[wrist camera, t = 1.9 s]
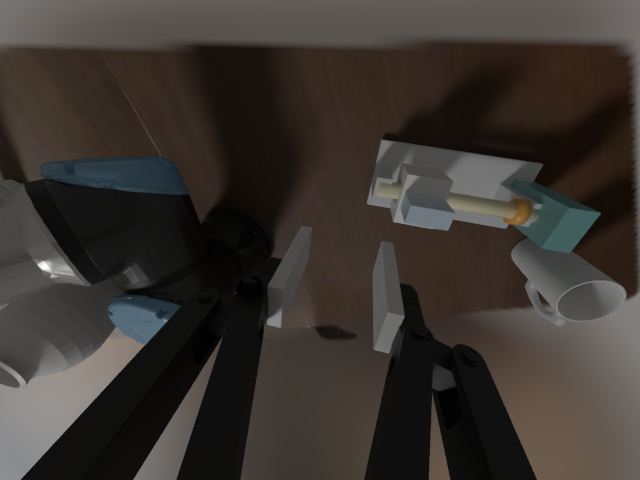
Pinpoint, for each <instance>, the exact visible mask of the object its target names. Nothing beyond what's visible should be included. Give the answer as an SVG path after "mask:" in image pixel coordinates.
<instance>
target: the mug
mask: <svg viewBox="0 0 640 480" xmlns="http://www.w3.org/2000/svg"><path fill="white" fill-rule="evenodd" d="M511 257H512V260H513V261H514V263H515V264H516V265H517V266H518V268H519V269H520V270H521V271H522V272H523V273H524V275H525V276H526V277H527V278H528V281H527V283H526V284H525V289H526V291H527V293H528V295H529V298H530V300H531V302H532V304H533V306H534V307H535V309H536V310H537V312H538V313H539V314H540V315H542V316H543V317H544V318H546V319H548V320H550V321H552V322H553V323H555V324H556V325H557V326H563V325H564V323H565V321H566V319H567V320H570V321H575V322H588V321H594V320H598V319H601V318H604V317H606V316H608V315H611V314H612V313H614V312H616V311H617V310H618V309H619V308H620V307H621V306H622V305H623V304H624V302H625V300H626V291H625V289H624V288H623V287H622V286H621V285H620V284H618V283H616V282H615V281H614V280H612V279H611V278H610V277H608V276H607V275H605V274H604V273H602V272H601V271H599V270H598V269H597V268H595V267H594V266H592V265H591V264H589V263H588V262H586V261H585V260H583V259H582V258H580V257H579V256H578V255H576V254H575V253H573V252H572V251H571V252H570V254H569V253H564V252H558V251H553V250H547V249H542V248H540V247H539V246H538V245H536V244H535V243H534V242H533V241H532V240H530V239H529V238H528V237H527V238H525V239H523V240H521V241H520V242H518V243H517V244H516V245H515V247H514V248H513V250H512V253H511ZM538 291H539V292H540V293H541V294H542V296H543V297H544V298H545V299H546V300H547V301H548V303H549V304H550V305H551V306H552V307H553V308H554V309H555V310H554V312H552V313H551V312H549V311H547V310H546V309H545V308H544V307H543V305H542V304H541V302H540V300H539V297H538Z"/></svg>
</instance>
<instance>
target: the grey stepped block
mask: <svg viewBox="0 0 640 480" xmlns="http://www.w3.org/2000/svg"><path fill="white" fill-rule="evenodd" d="M396 183H399V184H402V186H401V189H400V193H399V196H398V199H391V202H390V208H391V213H392V219H393V222H397V223H402V224H408V225H413V226H419V227H424V228H430V229H434V228H435V229H440V230H446V231H448V229H449V227H450V225H451V223H452V220H453V218H454V216H455V214H456V213H455V212H454V210H453V209H452V208H451V207H450V205H449V204H448V203H447V202H446V199H447V197H448V194H449V192H450V189H451V187H452V184H453V181H452V180H451V179H450V178H449V177H448V176H447V175H446V174H445V173H444V172H443V171H441V170H440V169H436V168H430V167H423V166H417V165H411V164H405V163H402V164H401V167H400V171H399V174H398V178H397V181H396Z"/></svg>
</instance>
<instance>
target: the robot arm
mask: <svg viewBox="0 0 640 480" xmlns="http://www.w3.org/2000/svg"><path fill="white" fill-rule="evenodd" d="M40 169H41V171H40V174H41V176H42V177H45V178H46V179H42V180H37V181H32V182H26V183H21V184H19V185H18V187H17V189H16V190H15V192H14V193H13V195H12V197H11V198H10V200H9V201H8V202H7V203H5V204H4V205H2V206H0V306H3V305H5V304H7V303H10V302H13V301H16V300H18V299H21V298H23V297H26V296H28V295H31V294H33V293H36V292H39V291H41V290H44V289H46V288H49V287H51V286H54V285H56V284H59V283H71V284H77V285H83V286H89V287H90V286H93V285H95V284H97V283H100V282H102V281H104V280H107V279H109V278H112V279H113V280H114V282H115V283H116V285H117V286H118V288H119V289H120V291H121V295H119V296H117V297H115V298H114V299H113V301H112V303H111V304H110V305H109V308H108V315H109V317H110V319H111V321H112V322H113V323H114V325H115V326H117V327H118V328H119V329H120V330H121V331H122V332H123V333H125V334H126V335H128V336H129V337H131V338H133V339H134V340H136V341H138V342H140V343H142V344H145V346H144V347H143V348H142V349H141V350H140V351H139V352H138V353H137V355H136V356H135V357H134V358H133V359H132V360H131V361H130V362H129V363H128V364H127V365H126V366H125V368H124V369H123V370H122V371H121V372H120V373H119V374H118V375H117V376H116V377H115V378H114V379H113V381H112V382H111V383H110V384H109V385H108V386H107V387H106V388H105V389H104V390H103V391H102V392H101V393H100V395H99V396H98V397H97V398H96V399H95V400H94V401H93V402H92V403H91V404H90V405H89V406H88V408H87V409H86V410H85V411H84V412H83V413H82V414H81V415H80V416H79V417H78V418H77V419H76V420H75V422H74V423H73V424H72V425H71V426H70V427H69V428H68V429H67V430H66V431H65V432H64V433H63V435H62V436H61V437H60V438H59V439H58V440H57V441H56V442H55V443H54V444H53V445H52V447H51V448H50V449H49V450H48V451H47V452H46V453H45V454H44V455H43V456H42V457H41V458H40V459H39V460H38V462H37V463H36V464H35V465H34V466H33V467H32V468H31V469H30V470H29V471H28V472H27V473H26V475H25V476H24V477H23V478H22V479H21V480H133V479H134V477H135V476H136V474H137V473H138V471H139V469H140V468H141V466H142V465H143V463H144V461H145V460H146V458H147V457H148V455H149V453H150V452H151V450H152V449H153V447H154V445H155V444H156V442H157V441H158V439H159V437H160V436H161V434H162V433H163V431H164V429H165V428H166V426H167V425H168V423H169V421H170V420H171V418H172V416H173V415H174V413H175V412H176V410H177V409H178V407H179V405H180V404H181V402H182V401H183V399H184V397H185V396H186V394H187V393H188V391H189V389H190V388H191V386H192V384H193V383H194V381H195V380H196V378H197V377H198V375H199V373H200V372H201V370H202V369H203V367H204V365H205V364H206V362H207V361H208V359H209V357H210V356H211V354H212V353H213V351H214V349H215V348H216V346H217V345H218V343H219V341H220V340H221V338H222V337H223V338H222V341H221V345H220V348H219V351H218V354H217V357H216V360H215V363H214V366H213V369H212V372H211V375H210V378H209V381H208V385H207V388H206V391H205V394H204V397H203V400H202V403H201V406H200V409H199V412H198V416H197V418H196V421H195V424H194V428H193V431H192V434H191V437H190V440H189V443H188V446H187V449H186V452H185V455H184V458H183V461H182V464H181V467H180V470H179V474H178V477H177V480H240V478H241V472H242V466H243V459H244V453H245V447H246V441H247V435H248V428H249V422H250V416H251V409H252V403H253V397H254V391H255V384H256V378H257V372H258V366H259V359H260V353H261V346H262V340H263V334H264V324H265V322H266V320H267V325H271V326H275V327H280V328H281V327H282V324H283V322H284V319H285V317H286V314H287V312H288V309H289V307H290V304H291V302H292V299H293V297H294V294H295V292H296V289H297V287H298V284H299V282H300V279H301V277H302V274H303V272H304V269H305V267H306V264H307V262H308V259H309V251H310V242H311V233H312V228H311V227H306V226H301V228H300V230H299V231H298V233H297V235H296V237H295V239H294V240H293V242H292V244H291V246H290V247H289V249H288V251H287V253H286V254H285V256H284V258H283V259H278V258H273V257H271V258H269V257H270V244H269V241H268V238H267V236H266V234H265V232H264V231H263V230H262V228H261V227H260V226H259V225H258V224H257V223H256V222H255V221H254V220H252V219H251V218H249V217H248V216H246V215H244V214H242V213H239V212H235V211H229V210H224V211H218V212H215V213H213V214H212V215H210V216H209V217H207V218H206V219H204V220H203V221H202V222H201V224H200V221H199V218H198V216H197V213H196V211H195V208H194V205H193V203H192V200H191V198H190V195H189V194H190V190H189V189H187V188H186V185H185V183H184V181H183V179H182V176H181V174H180V172H179V170H178V168H177V166H176V165H175V164H174V163H173V162H172V161H170V160H169V159H167V158H164V157H159V156H132V157H108V158H90V159H76V160H66V161H52V162H45V163H42V164H41V166H40ZM235 293H236V294H235ZM234 294H235V295H234ZM373 328H374V329H373V330H374V350H377V351H381V352H385V353H389V351H390V349H391V347H392V357H391V360H390V362H389V364H388V366H387V368H386V370H387V371H388V372H387V376H386V381H385V385H384V390H383V395H382V399H381V404H380V409H379V413H378V418H377V422H376V428H375V432H374V436H373V441H372V446H371V451H370V455H369V460H368V464H367V469H366V474H365V478H364V480H429V456H430V430H431V406H432V405H431V403H432V393H433V397H434V402H435V407H436V412H437V417H438V421H439V426H440V431H441V436H442V440H443V446H444V450H445V455H446V460H447V465H448V470H449V475H450V479H451V480H537V479H536V477H535V474H534V472H533V470H532V467H531V465H530V463H529V461H528V458H527V456H526V454H525V451H524V449H523V447H522V445H521V442H520V440H519V438H518V435H517V433H516V431H515V429H514V427H513V424H512V422H511V420H510V417H509V415H508V413H507V410H506V408H505V406H504V404H503V401H502V399H501V397H500V395H499V392H498V390H497V387H496V385H495V383H494V381H493V378H492V376H491V374H490V372H489V369H488V367H487V365H486V362H485V361H484V359H483V358H482V356H481V355H480V354H479V353H478V352H477V351H476V350H474V349H473V348H471V347H469V346H466V345H463V344H458V345H455V346H454V347H453V348H451V347H449V346H447V345H445V344H443V343H441V342H439V341H437V340H436V339H434V337H433V334H432V333H431V331H430V330H429V329H428V328H427V327H426V326H425V323H424V319H423V315H422V311H421V307H420V303H419V300H418V295H417V292H416V291H415V289H414V288H413V287H412V286H411V285H406V284H401V283H399V278H398V272H397V266H396V259H395V253H394V247H393V243H389V242H384V241H382V242H381V245H380V249H379V252H378V256H377V259H376V263H375V266H374V269H373Z"/></svg>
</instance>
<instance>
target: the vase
mask: <svg viewBox="0 0 640 480" xmlns="http://www.w3.org/2000/svg"><path fill="white" fill-rule="evenodd" d="M119 295H121V291H120V289H119V288H118V286H117V285H116V283H115V282H114V280H113V279H112V278H109V279H107V280H104V281H102V282H100V283H97V284H95V285H93V286H90V287H89V286H83V285H77V284H71V283H59V284H56V285H54V286H51V287H49V288H46V289H44V290H41V291H39V292H36V293H33V294H31V295H28V296H26V297H23V298H21V299H18V300H16V301H13V302H11V303H9V304H8V305H7V306H5V307H4V308H2V309H1V310H0V383H1V384H4V385H6V386H10V387H15V388H24V387H26V386H27V384H28V382H29V381H30V379H32V378H33V377H36V376H41V375H46V374H51V373H56V372H60V371H64V370H67V369H69V368H71V367H73V366H75V365H77V364H79V363H81V362H82V361H84V360H85V359H86V358H88V357H89V356H91V355H92V354H93V353H94V352H95V351H97V350H98V349H99V348H100V347H101V346H102V344H103V343H104V342H105V341H106V339H107V338H108V337H109V335H110V334H111V333H112V331H113V330H114V329H115V328H116V326H115V325H114V323H113V322H112V321H111V319H110V317H109V315H108V308H109V305H110V304H111V303H112V301H113V299H114V298H115V297H117V296H119Z"/></svg>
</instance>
